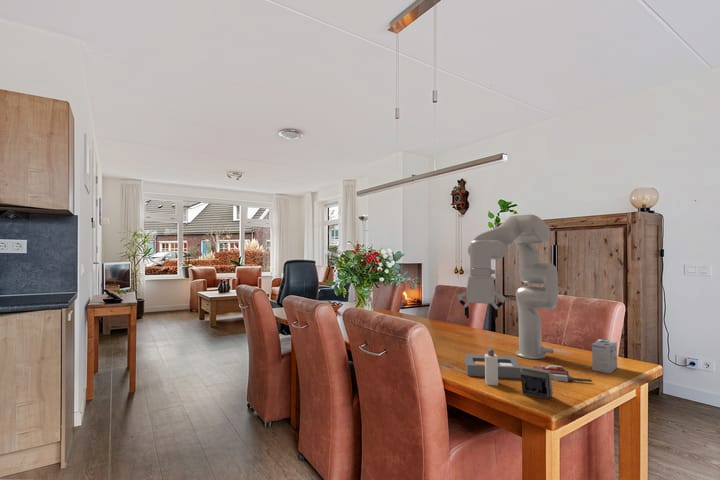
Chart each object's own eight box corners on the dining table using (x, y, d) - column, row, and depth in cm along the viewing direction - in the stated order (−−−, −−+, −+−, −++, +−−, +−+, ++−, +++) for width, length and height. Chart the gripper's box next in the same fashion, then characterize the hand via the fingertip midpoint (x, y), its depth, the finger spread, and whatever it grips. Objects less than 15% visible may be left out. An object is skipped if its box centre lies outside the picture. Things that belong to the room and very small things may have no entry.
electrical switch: (553, 396, 124) (551, 369, 124) (549, 403, 120) (548, 374, 119) (523, 390, 130) (522, 364, 129) (519, 396, 126) (517, 369, 125)
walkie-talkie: (531, 379, 142) (592, 385, 135) (531, 367, 142) (592, 373, 135) (529, 372, 150) (587, 377, 143) (529, 361, 150) (587, 366, 143)
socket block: (514, 366, 157) (514, 355, 157) (522, 378, 141) (522, 367, 142) (465, 363, 161) (464, 353, 161) (467, 375, 146) (467, 364, 146)
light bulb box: (599, 364, 159) (598, 338, 159) (618, 367, 154) (617, 341, 154) (591, 370, 151) (591, 343, 151) (611, 373, 146) (610, 345, 147)
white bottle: (496, 381, 139) (495, 348, 139) (498, 385, 135) (497, 351, 135) (485, 380, 140) (484, 348, 140) (486, 384, 136) (485, 351, 136)
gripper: (505, 273, 142) (505, 318, 141) (458, 272, 148) (458, 315, 147) (505, 273, 135) (505, 321, 134) (455, 272, 141) (456, 318, 140)
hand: (481, 318), depth 141 cm, fingers open, 9 cm apart
